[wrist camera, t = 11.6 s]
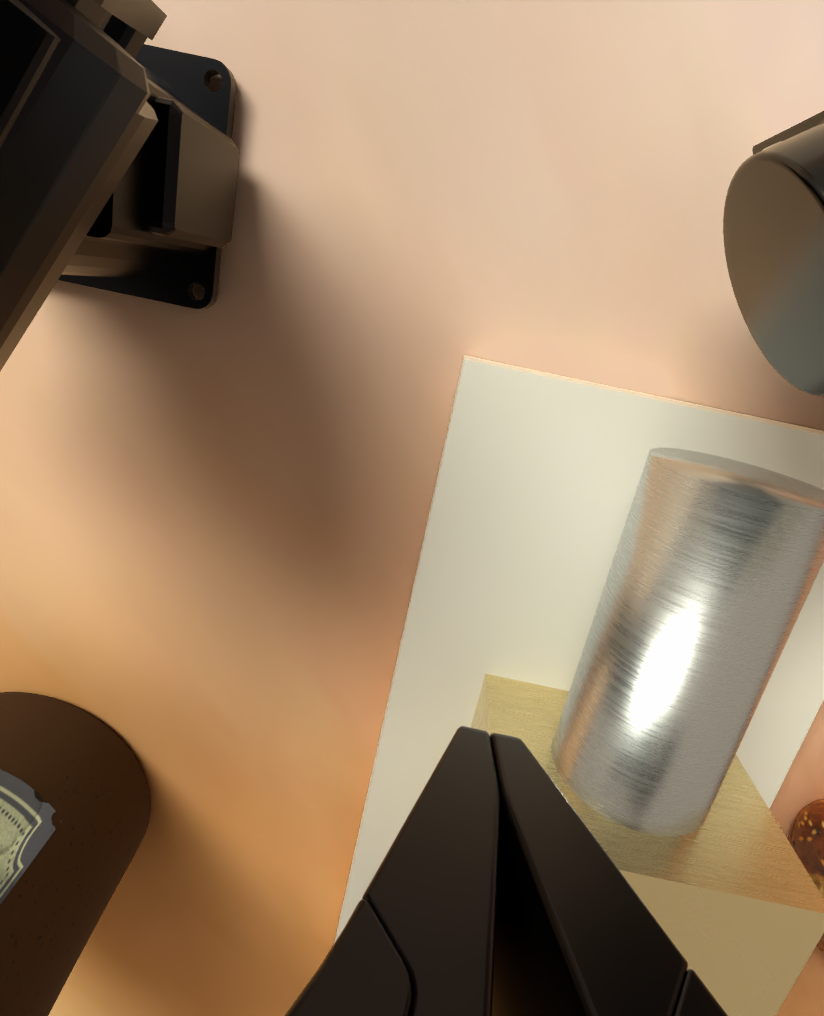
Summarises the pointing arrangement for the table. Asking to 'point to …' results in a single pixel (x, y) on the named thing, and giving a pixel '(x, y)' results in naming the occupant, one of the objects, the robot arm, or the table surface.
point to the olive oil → (59, 840)
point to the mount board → (554, 569)
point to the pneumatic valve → (781, 250)
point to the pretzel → (811, 845)
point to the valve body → (689, 717)
